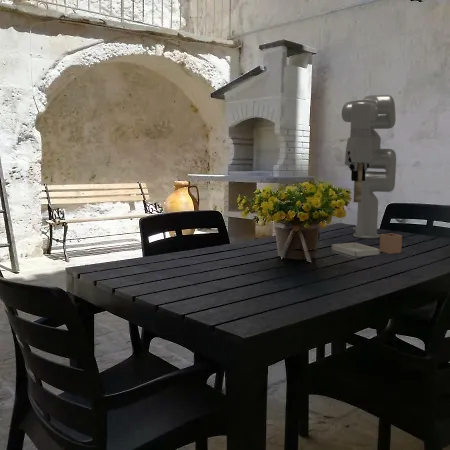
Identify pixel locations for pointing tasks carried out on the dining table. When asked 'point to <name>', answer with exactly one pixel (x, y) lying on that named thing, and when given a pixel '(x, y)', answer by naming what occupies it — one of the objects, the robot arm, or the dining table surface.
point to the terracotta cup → (390, 243)
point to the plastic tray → (354, 249)
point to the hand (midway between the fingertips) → (358, 180)
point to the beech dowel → (358, 184)
